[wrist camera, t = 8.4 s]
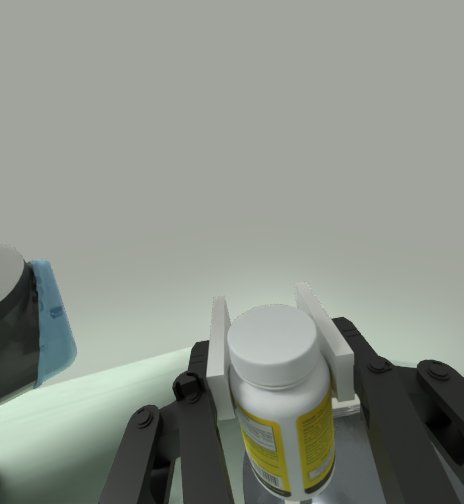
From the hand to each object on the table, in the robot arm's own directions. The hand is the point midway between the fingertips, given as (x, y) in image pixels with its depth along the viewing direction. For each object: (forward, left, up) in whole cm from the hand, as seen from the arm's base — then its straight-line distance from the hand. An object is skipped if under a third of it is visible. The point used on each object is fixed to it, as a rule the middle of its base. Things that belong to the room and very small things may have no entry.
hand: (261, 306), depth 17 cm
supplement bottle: (+2, -5, -6) cm, 8 cm away
